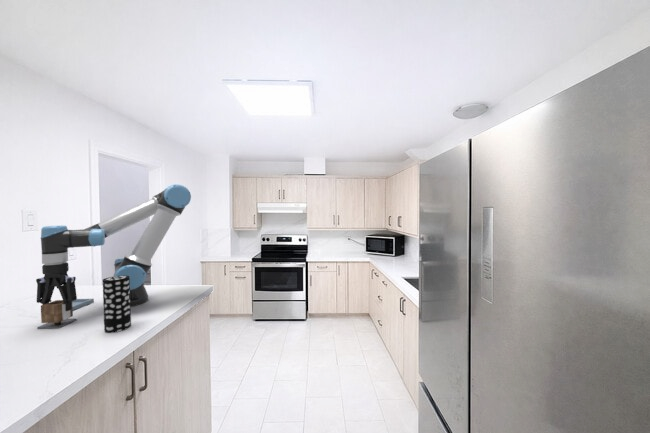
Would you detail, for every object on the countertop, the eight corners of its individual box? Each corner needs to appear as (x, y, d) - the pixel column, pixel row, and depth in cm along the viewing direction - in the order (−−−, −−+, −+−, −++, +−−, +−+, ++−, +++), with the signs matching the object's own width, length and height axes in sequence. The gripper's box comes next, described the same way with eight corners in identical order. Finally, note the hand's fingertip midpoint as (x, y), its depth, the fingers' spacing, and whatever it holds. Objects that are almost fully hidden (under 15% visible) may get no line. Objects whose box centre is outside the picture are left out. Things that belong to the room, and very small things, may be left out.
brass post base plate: (76, 320, 112) (75, 301, 112) (58, 328, 104) (57, 307, 104) (57, 320, 112) (56, 301, 112) (37, 329, 104) (36, 308, 104)
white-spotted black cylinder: (129, 321, 110) (127, 274, 109) (132, 327, 104) (131, 277, 103) (103, 328, 104) (101, 278, 103) (105, 335, 98) (103, 282, 98)
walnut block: (72, 316, 111) (72, 299, 111) (57, 322, 105) (57, 305, 105) (57, 316, 111) (56, 300, 111) (41, 322, 105) (40, 305, 104)
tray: (93, 302, 134) (93, 298, 134) (69, 312, 121) (69, 308, 121) (67, 303, 134) (67, 299, 134) (40, 313, 121) (40, 308, 121)
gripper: (87, 260, 111) (89, 314, 112) (40, 261, 111) (42, 315, 111) (71, 264, 104) (73, 321, 105) (20, 265, 103) (23, 323, 104)
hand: (57, 318), depth 108 cm, fingers closed on walnut block, 6 cm apart
